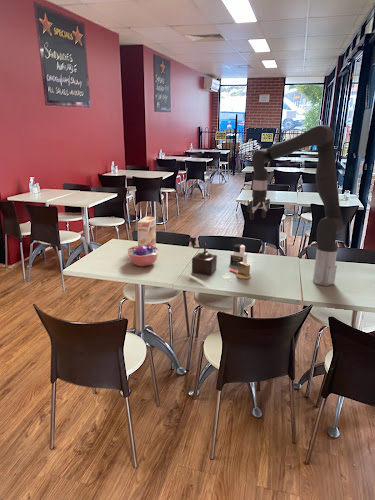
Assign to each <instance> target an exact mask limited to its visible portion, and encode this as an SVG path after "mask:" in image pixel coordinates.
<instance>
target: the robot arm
mask: <svg viewBox="0 0 375 500" xmlns="http://www.w3.org/2000/svg"><path fill="white" fill-rule="evenodd" d="M334 141H335V132H334V131H333V129H332V128H331V127H330V126H329V125H325V124H317V125H315V126H313V127H311V128H309V129H308V130H306V131H304V132H302V133H301V134H298V135H297V136H294V137H292V138H289V139H286V140H282V141H280V142H277V143H276V144H275V143H274V144H273V145H271V146H270V147H268V148H265V149H257V150H255V151H254V152H253V154H252V157H251V158H252V159H251V161H252V168H253V181H252V189H251V191H252V192H251V197H252V200H247V205H246V206H247V207H246V212H248V213H249V219H250V220H251V221H253V220H254V219H255V212H256V210H258V209H261V210H262V211H261V218H262V219H266V216H267V212H268V211H269V210H270V207H271V206H270V205H271V200H270V198H267V195H268V193H267V192H268V173H269V172H268V170H267V169H268V168H265V167H266V166H265V164H267V163H269V162H273V161H274V160H276V159H280V158H281V159H282V158H283V157H286V156H289V155H291V154H293V153H295V152H297V151H299V150H301V149H306V148H309V147H310V148H311V147H316V149H317V165H316V170H315V184H316V190H317V193H318V195H319V198H320V200H321V203H323V207H324V216H325V217H322V218H321V219H320V220H319V222H318V224H317V229H316V230H317V231H316V238H315V239H316V254H315V262H314V268H313V277H312V282H313V283H314V284H316V285H319V286H325V287H329V286H333V285H334V284H335V281H336V273H337V265H336V262H337V256H338V255H337V253H338V248H339V247H338V245H339V244H337V242H336V241H337V240H336V239H337V235H338V234H340V233H341V232H342V230H343V228H344V220H343V217H342V211H341V207H340V206H341V205H340V196H339V188H338V176H337V168H336V160H335V149H334V148H335V146H334V145H335V143H334Z"/></svg>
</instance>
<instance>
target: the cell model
mask: <svg viewBox="0 0 375 500" xmlns="http://www.w3.org/2000/svg"><path fill="white" fill-rule="evenodd" d="M158 253H159V249H158V248H157V246H156V247H154V246H150V245H140V246H138V245H135V246H131V247H129V248H127V255H128V256H127V258H128V260H129V261H130V262H131V263H132V264H133V265H136V266H138V267H147V266H150V265H153V264H155V263H156V262H157V259H158V255H159V254H158Z"/></svg>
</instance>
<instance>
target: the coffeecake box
mask: <svg viewBox="0 0 375 500" xmlns="http://www.w3.org/2000/svg"><path fill="white" fill-rule="evenodd" d="M156 221H157V218H156V216H144V217H143V218H141V219H139V220H138V221H137V246H140V245H150V246H154V247H156V248H157V236H156V234H157V222H156Z"/></svg>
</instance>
